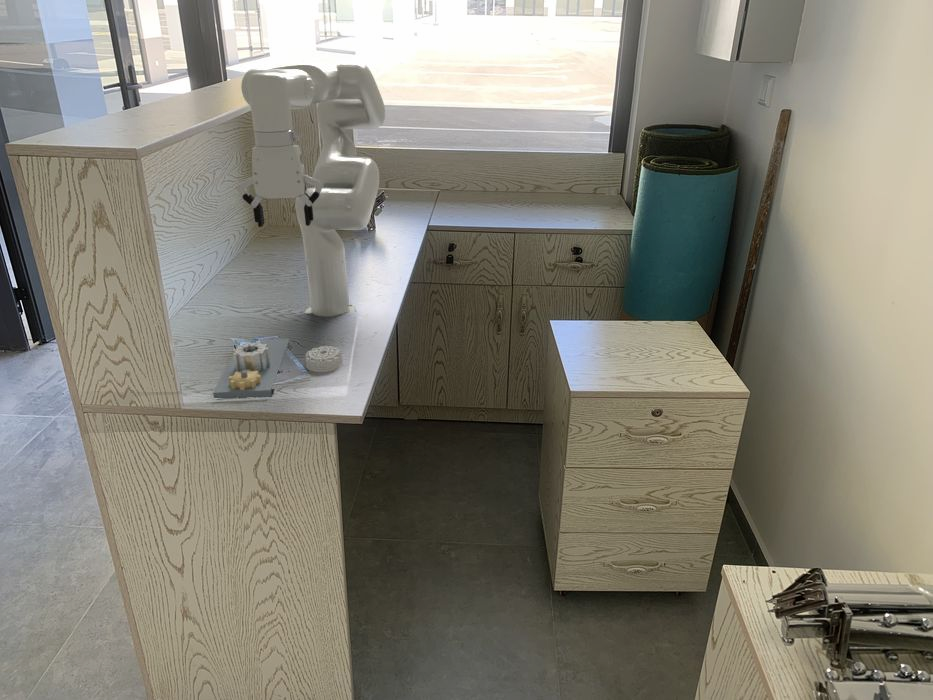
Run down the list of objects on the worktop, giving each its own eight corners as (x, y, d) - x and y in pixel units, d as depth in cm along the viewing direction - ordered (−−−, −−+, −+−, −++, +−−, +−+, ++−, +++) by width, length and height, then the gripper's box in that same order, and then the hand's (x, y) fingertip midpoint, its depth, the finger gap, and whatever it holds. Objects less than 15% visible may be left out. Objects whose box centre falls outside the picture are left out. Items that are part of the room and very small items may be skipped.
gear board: (241, 346, 157) (238, 328, 155) (290, 344, 158) (288, 326, 156) (214, 399, 135) (210, 378, 133) (271, 396, 135) (268, 376, 134)
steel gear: (239, 360, 147) (236, 342, 146) (273, 358, 148) (270, 341, 146) (232, 374, 141) (229, 357, 139) (267, 373, 142) (264, 355, 140)
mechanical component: (346, 381, 142) (352, 360, 151) (344, 362, 140) (350, 341, 149) (297, 382, 142) (306, 361, 151) (294, 363, 140) (304, 342, 149)
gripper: (321, 136, 141) (328, 219, 148) (234, 138, 140) (246, 221, 147) (316, 141, 134) (325, 228, 141) (225, 143, 133) (238, 230, 140)
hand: (285, 224), depth 144 cm, fingers open, 9 cm apart
